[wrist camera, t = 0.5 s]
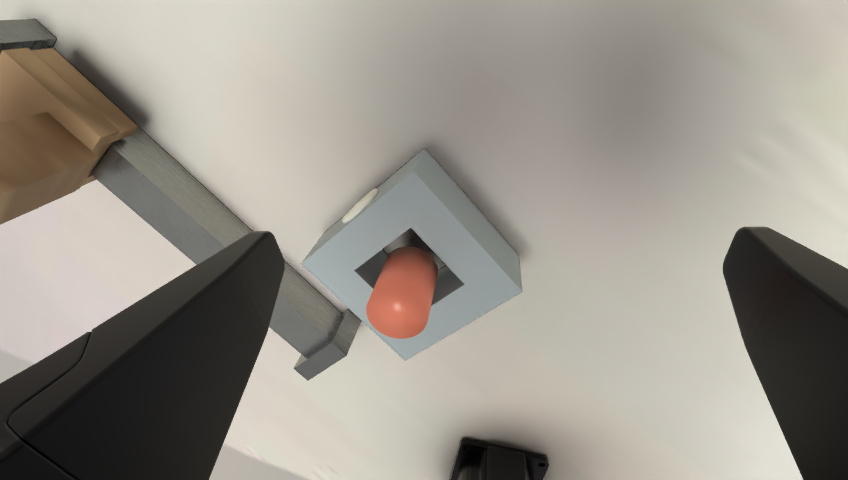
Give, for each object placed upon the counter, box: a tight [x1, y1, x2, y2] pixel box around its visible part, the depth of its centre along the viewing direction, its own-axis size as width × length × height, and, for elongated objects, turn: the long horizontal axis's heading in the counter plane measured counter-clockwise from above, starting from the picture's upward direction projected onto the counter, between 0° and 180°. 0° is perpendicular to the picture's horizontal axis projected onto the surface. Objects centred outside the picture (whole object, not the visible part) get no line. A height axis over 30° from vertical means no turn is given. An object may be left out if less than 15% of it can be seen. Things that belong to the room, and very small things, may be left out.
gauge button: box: [366, 246, 438, 339], centre depth 21 cm, size 3×3×4 cm
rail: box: [0, 19, 361, 380], centre depth 25 cm, size 24×4×3 cm, turn 42°
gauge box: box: [301, 148, 522, 361], centre depth 24 cm, size 8×8×4 cm
